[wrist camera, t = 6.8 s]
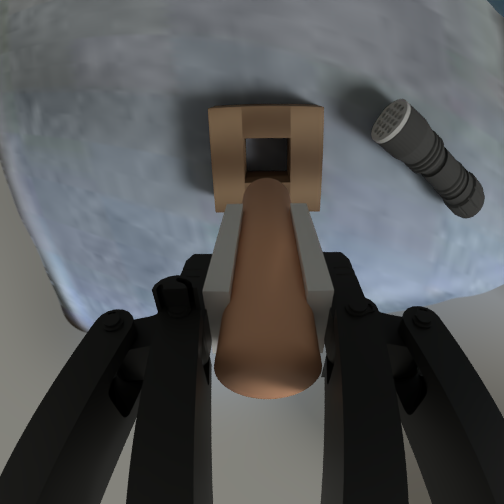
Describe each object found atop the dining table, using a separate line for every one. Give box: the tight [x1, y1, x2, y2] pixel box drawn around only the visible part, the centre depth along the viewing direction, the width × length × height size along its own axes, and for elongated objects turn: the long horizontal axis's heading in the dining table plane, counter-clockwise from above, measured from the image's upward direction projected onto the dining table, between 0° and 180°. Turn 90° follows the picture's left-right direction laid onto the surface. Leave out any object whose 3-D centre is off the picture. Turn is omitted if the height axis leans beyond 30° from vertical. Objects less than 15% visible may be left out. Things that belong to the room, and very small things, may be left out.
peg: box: [214, 178, 322, 399], centre depth 13 cm, size 3×3×12 cm
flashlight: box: [371, 99, 485, 218], centre depth 26 cm, size 15×5×5 cm, turn 59°
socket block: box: [208, 104, 324, 212], centre depth 28 cm, size 10×10×4 cm
